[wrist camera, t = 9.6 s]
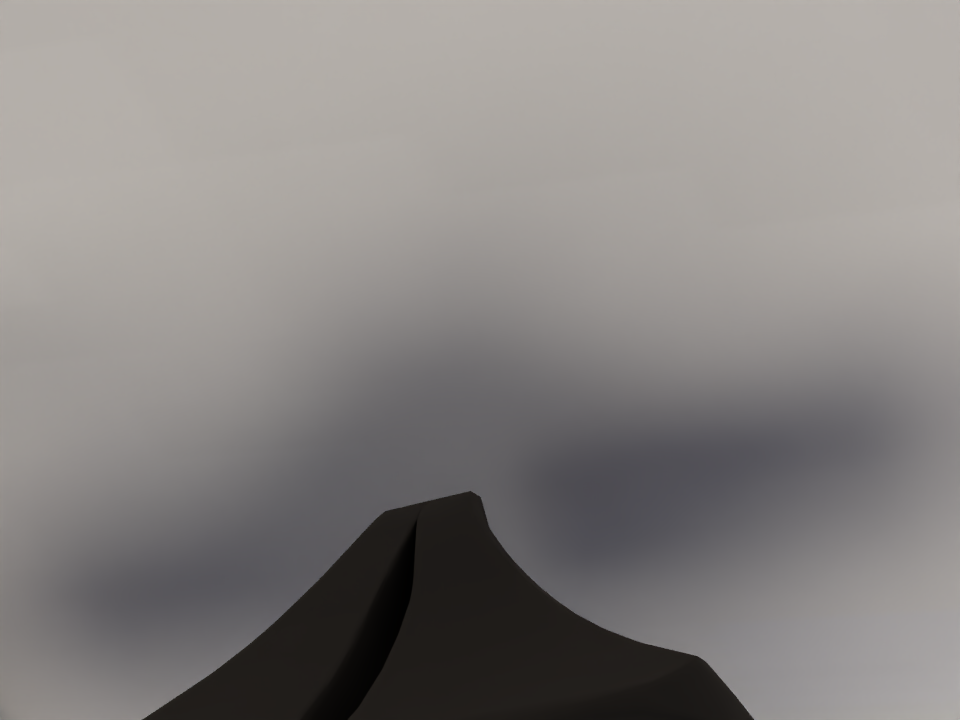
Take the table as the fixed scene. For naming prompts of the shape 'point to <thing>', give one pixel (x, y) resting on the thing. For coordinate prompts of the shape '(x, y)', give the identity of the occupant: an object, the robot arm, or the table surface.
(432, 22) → the table surface
